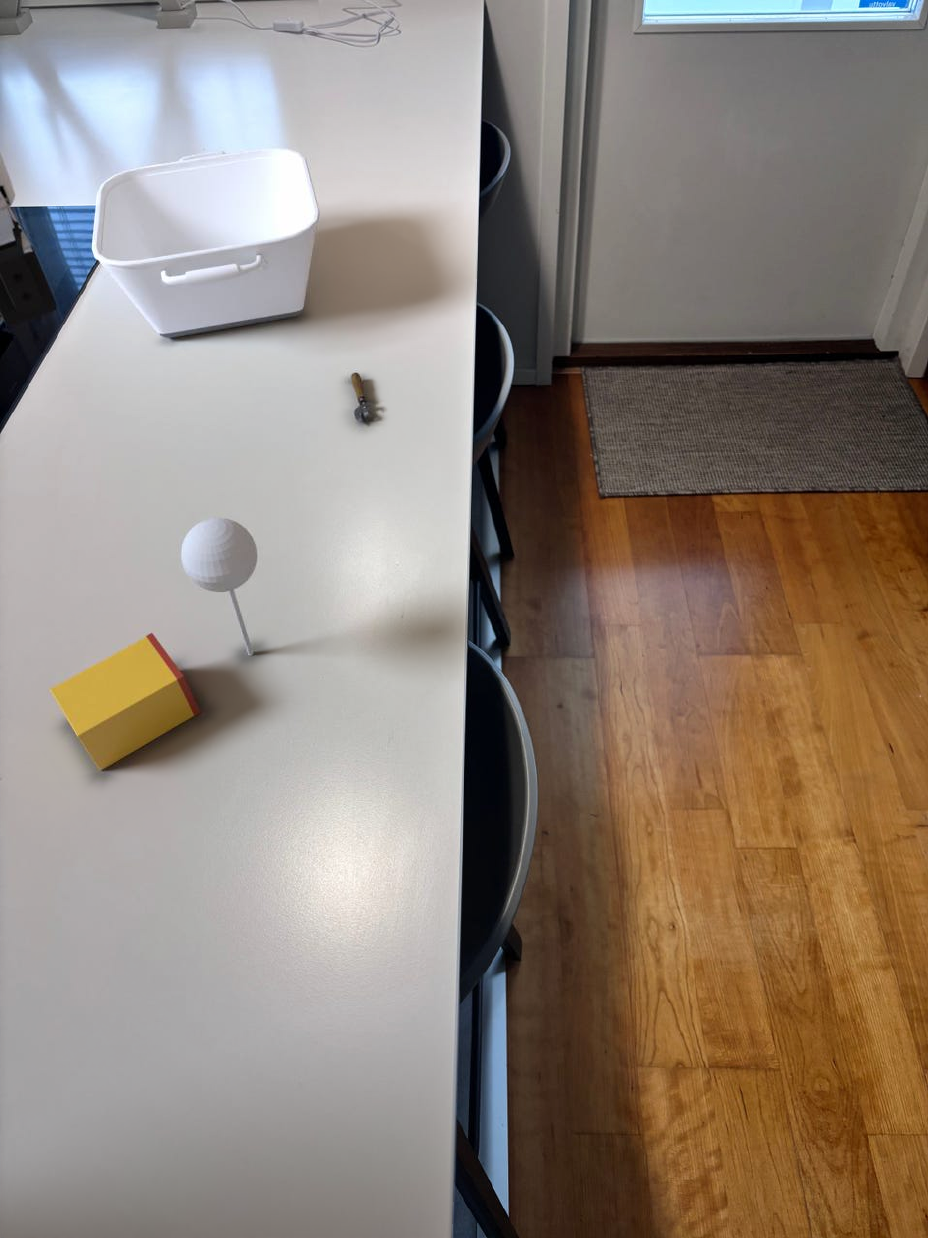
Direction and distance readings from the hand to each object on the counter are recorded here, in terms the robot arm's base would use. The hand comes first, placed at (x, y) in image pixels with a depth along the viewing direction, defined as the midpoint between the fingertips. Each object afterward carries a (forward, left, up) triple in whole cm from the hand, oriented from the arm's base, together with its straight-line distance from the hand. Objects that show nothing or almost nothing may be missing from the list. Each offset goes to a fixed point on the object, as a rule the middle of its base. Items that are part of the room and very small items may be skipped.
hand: (5, 287), depth 61 cm
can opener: (+33, +18, -34) cm, 51 cm away
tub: (+33, +50, -34) cm, 69 cm away
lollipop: (+5, -7, -34) cm, 36 cm away
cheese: (-6, -7, -34) cm, 36 cm away
